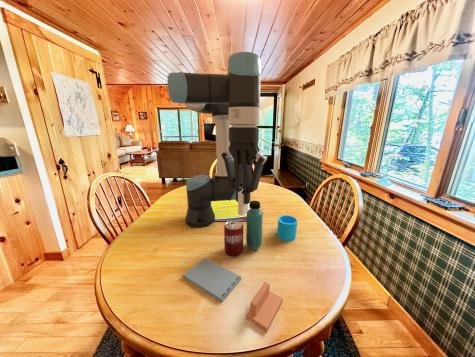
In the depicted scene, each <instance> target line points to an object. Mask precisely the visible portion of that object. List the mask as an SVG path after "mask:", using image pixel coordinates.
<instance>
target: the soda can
mask: <svg viewBox="0 0 475 357" xmlns="http://www.w3.org/2000/svg"><path fill="white" fill-rule="evenodd" d="M223 230H224V231H223V233H224V234H223V240H224V242H223V243H224V244H223V245H224V253H225V255H226V256H228V257H230V258H238V257H240V256H242V254H243V253H244V224H243V223H242V222H241V221H239V220H229V221H227V222H225V223H224V225H223Z"/></svg>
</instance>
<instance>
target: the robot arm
mask: <svg viewBox="0 0 475 357" xmlns="http://www.w3.org/2000/svg"><path fill="white" fill-rule="evenodd" d="M261 61H262V60H261V58H260V55H259V54H257V53H255V52H250V51H240V52H235V53H232V54H231V55H230V56H229V57H228V60H227V68H226V69H227V70H226V71H227V74H226V73H225V74H224V73H197V72H194V73H193V72H183V71H179V72H170V73H169V74H167V79H166V80H167V91H168V92H167V93H168V96H169V100H170V101H171V103H174V104H181V105H183V104H184V105H185V107H186V108H188V109H189V110H190V111H193V112H196V113H199V114H203V115H204V114H205V115H207V114H208V115H209V114H211V118H212V119H213V121H214V123H215V142H216V143H215V145H216V148H215V150H216V167H217V168H216V172H215V173H214V176H213V177H211V176H210V174H209V175H208V174H198V175H194V176H192V177H190V178H188V179H187V180H186V182H185V184H186V186H185V187H186V189H185V190H186V200H187V211H186V214H185V217H184V218H185V219H184V220H185V221H184V222H185V224H186V225H187V226H188V227H191V228H205V227H208V226H210V225H212V224H213V223H215V221H216V215H215V214H216V213H215V212H214V209H213V207H212V202H221V201H222V202H223V201H228V202H229V201H233V200H234V201H236V202H237V215H239V216H245V215H247V212H248V210H249V207H248V205H249V204H250V202H251V194H252V193H253V192H255V191H256V190H258V187H259V185H260V184H259V183H260V179H261V176H262V173H263V169H264V165H265V164H266V162H267V161H268V159H269V158H268V156H267V155H263V154H262V153H261V152H260V147H259V137H260V135H259V134H260V128H259V127H257V125H258V126H259V124H260V102H261V82H262V81H261V80H262V79H261V75H262V68H261V67H262V65H261V64H262V63H261ZM254 160H255V164H254ZM253 165H254V168H253ZM252 171H253V172H252Z"/></svg>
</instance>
